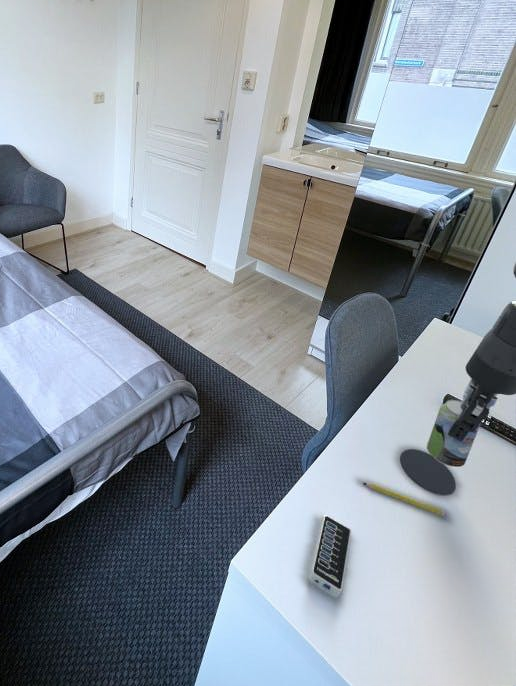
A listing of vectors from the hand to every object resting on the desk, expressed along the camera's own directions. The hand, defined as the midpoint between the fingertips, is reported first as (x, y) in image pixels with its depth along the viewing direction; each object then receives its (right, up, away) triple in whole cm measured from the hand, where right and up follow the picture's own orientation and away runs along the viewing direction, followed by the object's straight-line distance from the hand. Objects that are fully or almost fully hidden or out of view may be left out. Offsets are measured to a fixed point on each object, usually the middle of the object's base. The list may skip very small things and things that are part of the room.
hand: (457, 426), depth 78 cm
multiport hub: (-29, -18, -9) cm, 35 cm away
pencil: (-10, -14, +1) cm, 17 cm away
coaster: (-1, -12, +6) cm, 13 cm away
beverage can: (-1, -7, +4) cm, 8 cm away
